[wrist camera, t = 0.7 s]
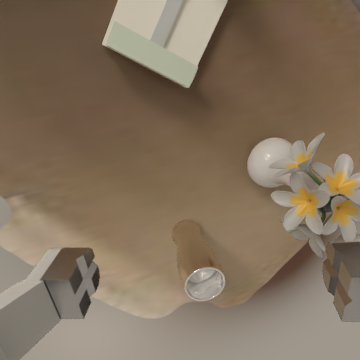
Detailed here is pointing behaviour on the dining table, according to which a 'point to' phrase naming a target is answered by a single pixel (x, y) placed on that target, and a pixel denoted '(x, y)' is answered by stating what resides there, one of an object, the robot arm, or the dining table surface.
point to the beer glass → (197, 263)
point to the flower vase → (308, 189)
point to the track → (164, 34)
